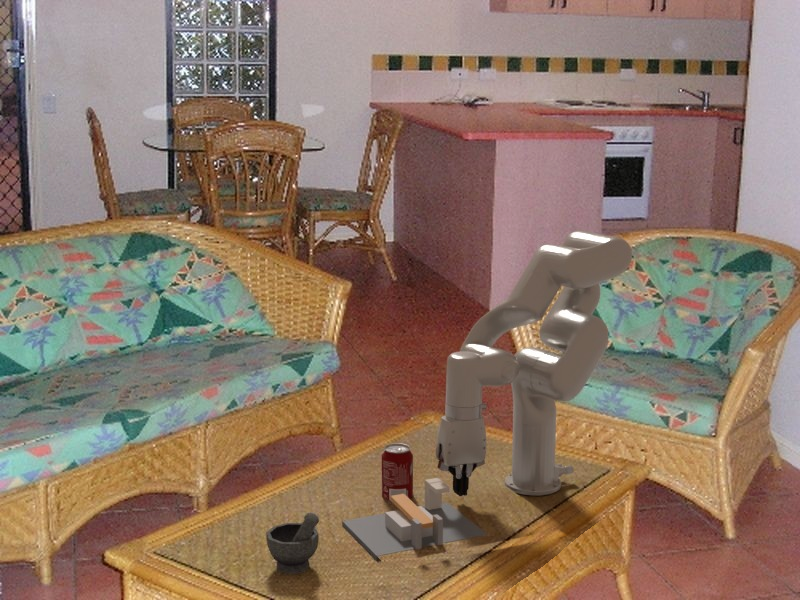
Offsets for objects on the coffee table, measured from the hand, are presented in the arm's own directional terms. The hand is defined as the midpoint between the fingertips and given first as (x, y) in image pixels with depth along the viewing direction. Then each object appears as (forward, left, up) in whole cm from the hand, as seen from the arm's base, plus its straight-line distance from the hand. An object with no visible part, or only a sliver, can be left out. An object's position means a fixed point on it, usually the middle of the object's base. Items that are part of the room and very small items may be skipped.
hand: (460, 493), depth 245 cm
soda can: (+10, -10, -4) cm, 15 cm away
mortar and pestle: (+41, +12, -4) cm, 43 cm away
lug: (+6, +2, -2) cm, 7 cm away
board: (+14, +7, -3) cm, 16 cm away
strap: (+15, +8, +2) cm, 18 cm away
